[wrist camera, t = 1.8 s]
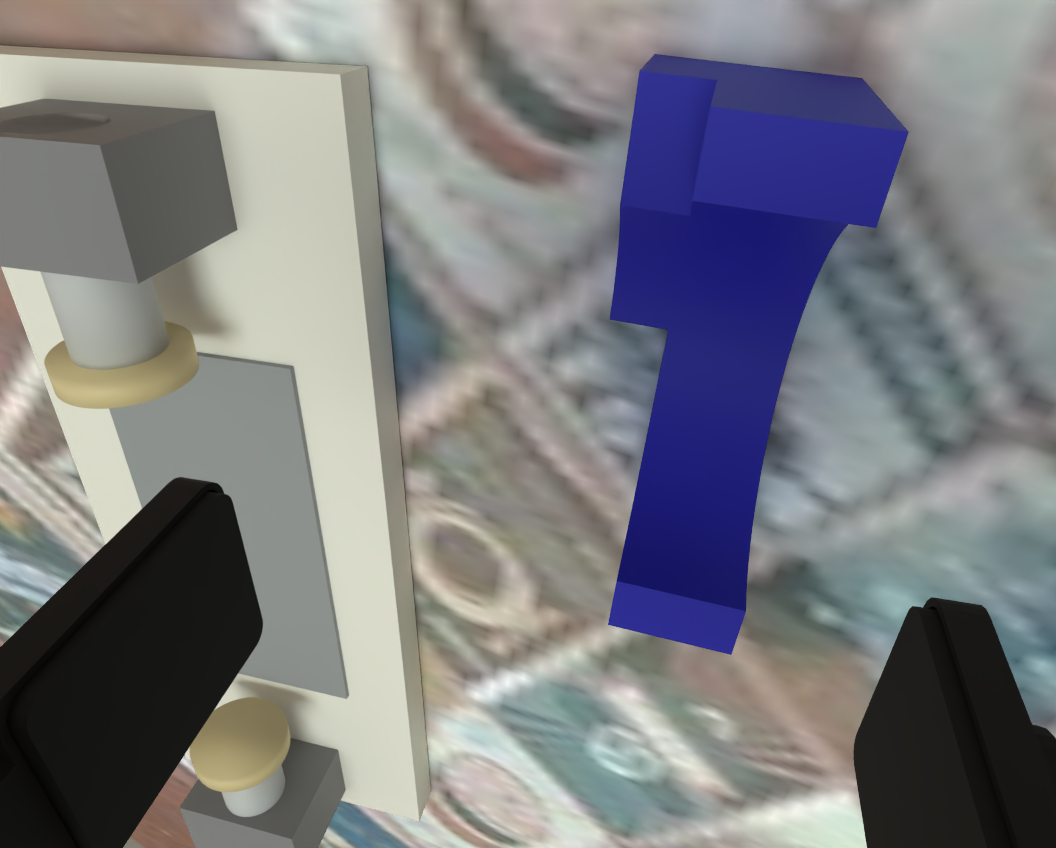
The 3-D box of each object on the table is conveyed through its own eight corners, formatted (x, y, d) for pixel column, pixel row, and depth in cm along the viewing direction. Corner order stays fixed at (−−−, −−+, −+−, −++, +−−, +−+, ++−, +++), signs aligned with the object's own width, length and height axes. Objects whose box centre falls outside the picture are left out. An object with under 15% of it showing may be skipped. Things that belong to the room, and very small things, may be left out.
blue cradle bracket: (655, 53, 17) (617, 94, 12) (860, 77, 16) (908, 131, 11) (591, 473, 24) (549, 610, 19) (735, 503, 23) (731, 654, 18)
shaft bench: (367, 66, 19) (235, 105, 14) (430, 790, 35) (381, 921, 30) (-32, 43, 21) (-262, 70, 16) (205, 733, 38) (125, 846, 33)
